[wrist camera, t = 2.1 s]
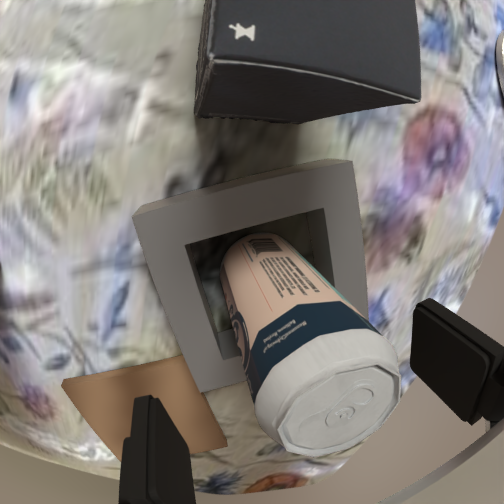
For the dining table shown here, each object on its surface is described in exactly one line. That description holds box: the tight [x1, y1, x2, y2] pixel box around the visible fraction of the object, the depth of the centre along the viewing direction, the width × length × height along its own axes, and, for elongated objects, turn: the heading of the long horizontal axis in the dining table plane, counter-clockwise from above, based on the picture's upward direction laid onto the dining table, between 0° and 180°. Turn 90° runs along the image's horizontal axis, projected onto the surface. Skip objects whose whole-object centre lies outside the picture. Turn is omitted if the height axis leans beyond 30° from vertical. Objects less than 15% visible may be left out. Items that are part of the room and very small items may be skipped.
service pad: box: [61, 355, 227, 462], centre depth 21 cm, size 10×10×1 cm
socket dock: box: [132, 159, 369, 393], centre depth 18 cm, size 11×11×3 cm
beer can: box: [220, 232, 401, 457], centre depth 13 cm, size 5×5×12 cm
